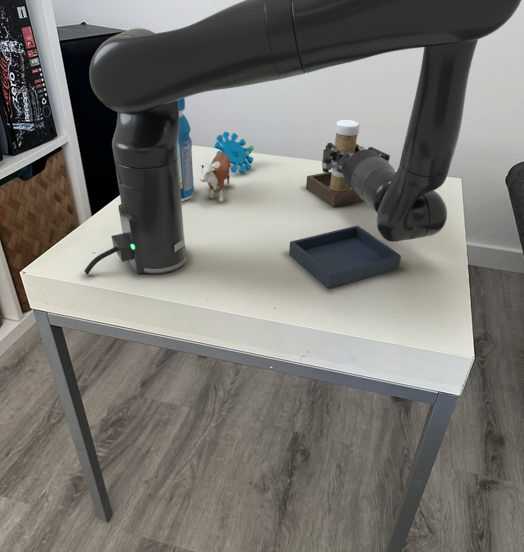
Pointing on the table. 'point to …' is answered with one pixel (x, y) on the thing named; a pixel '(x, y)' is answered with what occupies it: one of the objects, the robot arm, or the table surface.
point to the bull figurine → (217, 174)
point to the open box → (330, 190)
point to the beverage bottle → (184, 155)
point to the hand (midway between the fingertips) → (339, 147)
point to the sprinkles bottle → (346, 141)
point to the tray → (344, 256)
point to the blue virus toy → (235, 152)
